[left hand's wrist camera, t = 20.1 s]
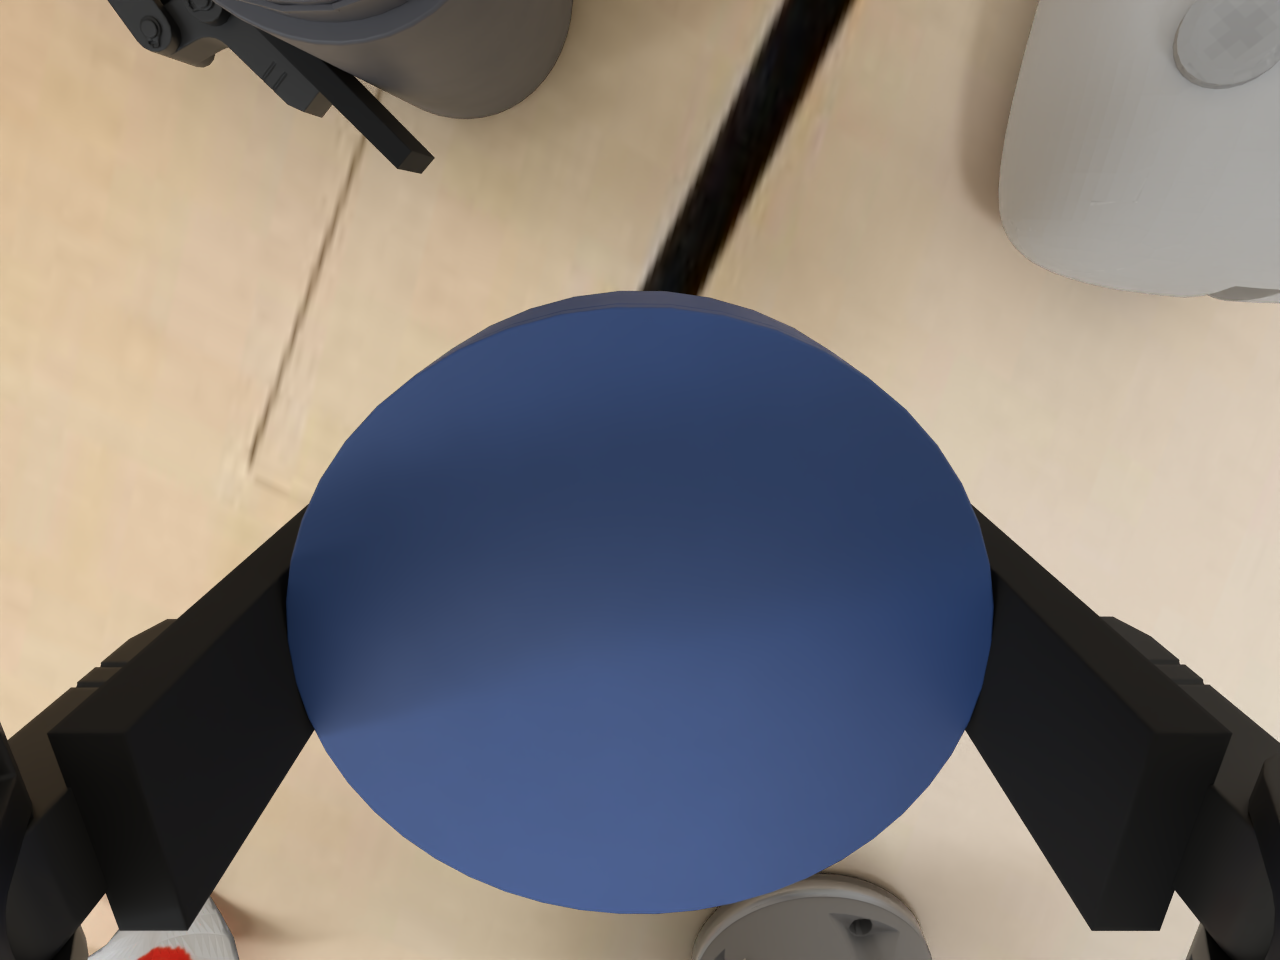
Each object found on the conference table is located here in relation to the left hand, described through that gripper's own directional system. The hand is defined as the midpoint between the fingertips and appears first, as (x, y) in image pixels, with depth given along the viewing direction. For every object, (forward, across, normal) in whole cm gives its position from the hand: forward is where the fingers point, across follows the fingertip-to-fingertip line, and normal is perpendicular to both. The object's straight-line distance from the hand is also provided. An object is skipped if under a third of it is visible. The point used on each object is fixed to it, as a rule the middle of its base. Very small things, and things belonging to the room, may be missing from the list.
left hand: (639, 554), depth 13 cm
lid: (-3, 0, 0) cm, 3 cm away
